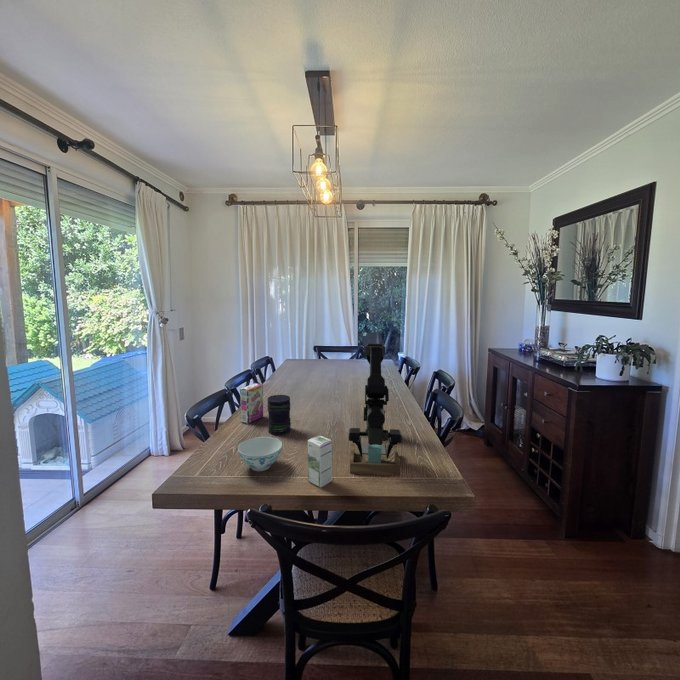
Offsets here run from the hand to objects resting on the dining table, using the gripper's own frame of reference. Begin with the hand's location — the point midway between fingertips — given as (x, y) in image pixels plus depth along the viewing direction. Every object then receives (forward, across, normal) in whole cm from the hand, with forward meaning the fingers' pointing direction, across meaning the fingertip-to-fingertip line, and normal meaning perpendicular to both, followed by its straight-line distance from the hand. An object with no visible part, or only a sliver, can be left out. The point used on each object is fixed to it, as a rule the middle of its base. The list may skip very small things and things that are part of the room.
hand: (374, 457), depth 128 cm
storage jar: (+2, -41, +24) cm, 48 cm away
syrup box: (+2, -18, -15) cm, 23 cm away
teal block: (+2, 0, 0) cm, 2 cm away
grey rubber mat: (+2, 0, +10) cm, 10 cm away
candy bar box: (+2, -57, +36) cm, 67 cm away
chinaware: (+2, -40, -7) cm, 41 cm away
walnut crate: (+2, 0, -1) cm, 2 cm away
